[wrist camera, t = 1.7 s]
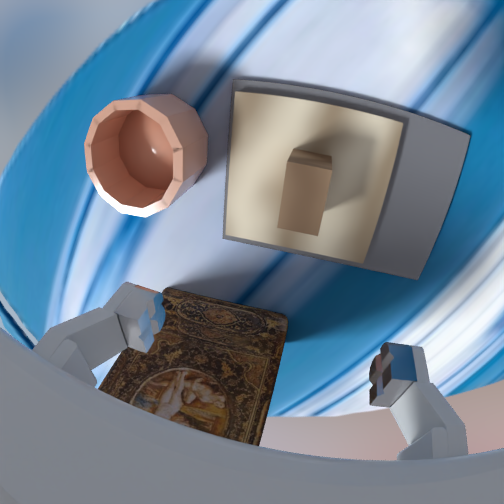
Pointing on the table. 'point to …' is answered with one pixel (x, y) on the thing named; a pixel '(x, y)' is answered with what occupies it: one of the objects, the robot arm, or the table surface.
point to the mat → (400, 184)
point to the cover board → (318, 134)
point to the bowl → (145, 152)
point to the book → (205, 367)
